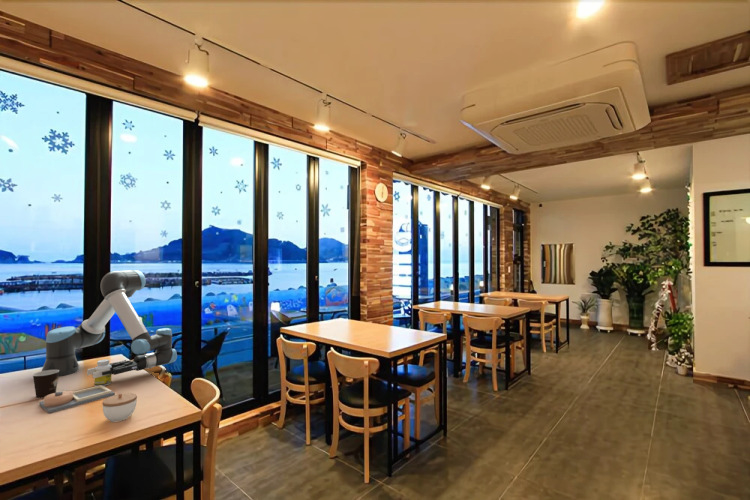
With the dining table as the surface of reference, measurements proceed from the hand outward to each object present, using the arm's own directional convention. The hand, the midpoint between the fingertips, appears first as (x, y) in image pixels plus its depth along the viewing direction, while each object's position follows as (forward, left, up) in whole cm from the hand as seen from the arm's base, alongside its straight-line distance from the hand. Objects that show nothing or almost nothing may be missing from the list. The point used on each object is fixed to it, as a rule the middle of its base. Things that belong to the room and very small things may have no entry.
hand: (90, 373), depth 165 cm
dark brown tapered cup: (-6, -13, -7) cm, 16 cm away
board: (+13, -8, -7) cm, 17 cm away
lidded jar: (+48, -5, -7) cm, 49 cm away
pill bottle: (0, +5, -7) cm, 8 cm away
